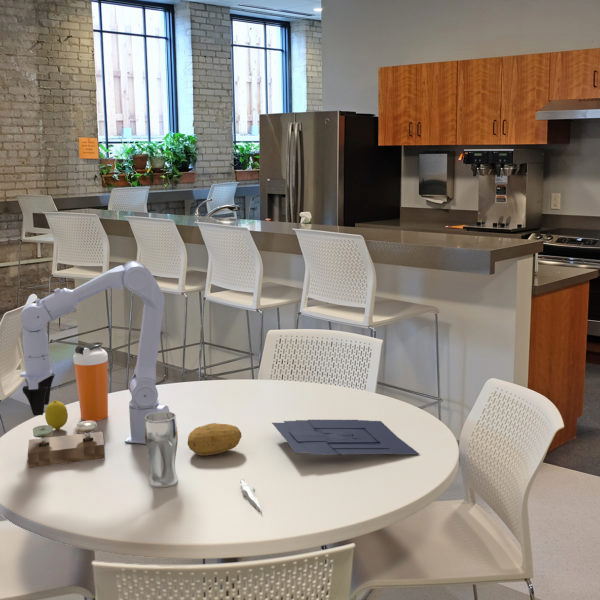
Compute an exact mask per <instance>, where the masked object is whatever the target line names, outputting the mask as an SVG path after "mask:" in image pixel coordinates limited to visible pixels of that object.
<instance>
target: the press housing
mask: <svg viewBox="0 0 600 600" xmlns="http://www.w3.org/2000/svg"><path fill="white" fill-rule="evenodd" d="M90 437H91V441H88V442H86V441H85V433H80V434H79V433H78V434H68V435H60V436H59V435H58V436H48V437H46V441H47V446H44V447H42V446H41V438H33V439H28V446H27V461H28V462H27V463H28V468H29V469H31V468H39V467H40V468H41V467H47V466H55V465H56V466H57V465H64V464H72V463H80V462H89V461H90V462H91V461H97V460H105V459H106V453H105V443H104V440H105V439H104V435H103V431H96V432H95V431H93V432H90Z"/></svg>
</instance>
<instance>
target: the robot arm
mask: <svg viewBox="0 0 600 600" xmlns="http://www.w3.org/2000/svg"><path fill="white" fill-rule="evenodd" d="M124 286H125V288H126V289H127V290H129V292H131V293H133V294H135V295H137V296H138V298H139V299H140V300H142V302H143V311H142V319H141V327H140V333H139V341H138V349H137V350H138V351H137V355H136V364H135V367H134V371H133V375H132V377H131V378H130V380H129V382H128V390H129V393H130V395H131V400H130V401H129V402H128V411H129V412H128V413H129V426H130V427H129V428H130V435H129V436H128V437H127V438H126V439H125V440H124V443H127V444H128V443H130V444H139V445H140V444H144V445H146V443H145V416H146V415H148V414H150V413H153V412H160V411H167V412H170V408H169V406H168V405H164V404H161V403H160V402H159V400H158V396H159V393H158V389H157V386H156V385H157V384H156V383H157V362H158V355H159V354H158V353H159V347H160V338H161V331H162V323H163V316H164V308H165V301H166V300H165V299H166V297H165V296H164V293H163V292H162V290H161V287H160V286H159V284H158V282H157V280H156V278H155V276H154V275H153V274H152V272H151V271H150V270H149V269H148V268H147V267H146V266H145V265H144V264H143V263H141V262H139V261H136V260H131V261H127V262H126V263H125V264H124V265H122V264H121V265H117V266H115V267H114V268H111V269H109V270H107V271H105V272H103V273H101V274H99V275H98V276H96V277H94V278H92V279H90V280H88V281H86V282H85V283H83V284H81V285H79V286H78V287H75V288H74V289H70V288H67V287H64V288H62V289H60V288H59V287H57V288H56V289H54V292H53V293H51V294H49V295H47V296H45V297H43V298H41V299H40V298H37V299H35V303H34V302H31V303H28V304H26V305H25V306H23V309H21V312H20V318H19V320H20V324H21V326H22V330H21V332H22V334H23V335H22V346H23V347H22V348H23V349H22V350H23V360H24V361H23V362H24V370H25V371H23V372H20V378H24V379H26V381H27V382H28V383H27V385H23V387H22V392H23V394H24V395H25V397H26V398H27V400H28V402H29V406H30V408H31V412H32V415H33V416H43V415H44V413H45V412H44V411H45V406H48V405H49V404H50V398H51V389H52V384H53V381H54V379H55V376H56V374H55V373H53V372H52V369H51V360H50V359H51V357H50V345H49V344H50V343H49V334H48V333H47V323H48V322H54V321H56V320H58V319H60V318H61V317H64V316H66V315H68V314H69V313H72V312H73V311H75V310H77V308H78V305H79V303H80V302H82V301H84V300H86V299H88V298H91V297H94V296H95V295H97V294H100V293H101V292H104V291H107V290H108V289H113V290H122V291H123V290H124V288H123V287H124Z"/></svg>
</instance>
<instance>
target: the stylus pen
mask: <svg viewBox="0 0 600 600" xmlns="http://www.w3.org/2000/svg"><path fill="white" fill-rule="evenodd" d="M239 483H240V484H241V485H240V489H241V494H242V495H243V496H244V497H245V498H247V499H248V500H249V502H250V503H251V504H252V505H253V506H254V507H255V508H256V509H257V510H258V511H260V512H262V508H261V505H260V502H259V499H258V498H257V494H256V489H255V487H254V486H253V485H251V484H250V483H248V482H247V481H245V480H244V478H243V479H240V481H239Z"/></svg>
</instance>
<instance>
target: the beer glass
mask: <svg viewBox="0 0 600 600" xmlns="http://www.w3.org/2000/svg"><path fill="white" fill-rule="evenodd" d="M178 434H179V433H178V424H177V417H176V413H174V412H172V411H169V412H167V411H160V412H153V413H150V414H148V415H146V416H145V443H146V444H145V446H146V447H145V448H146V452H147V455H148V460H149V463H150V464H149V466H150V474H149V481H148V482H149V485H150V486H152V487H154V488H169V487H172V486H174V485H176V484H177V483H178V481H179V480H178V474H177V470H176V457H177V451H178V450H177V449H178V441H179V440H178V439H179V435H178Z"/></svg>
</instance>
